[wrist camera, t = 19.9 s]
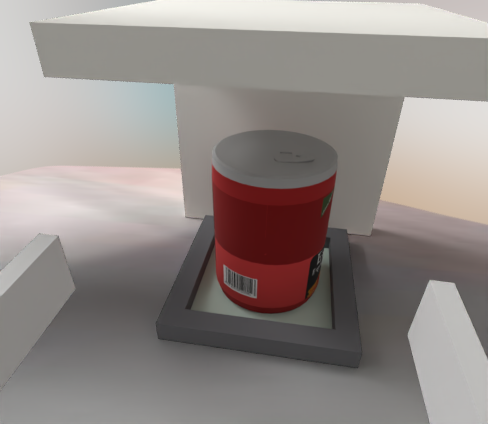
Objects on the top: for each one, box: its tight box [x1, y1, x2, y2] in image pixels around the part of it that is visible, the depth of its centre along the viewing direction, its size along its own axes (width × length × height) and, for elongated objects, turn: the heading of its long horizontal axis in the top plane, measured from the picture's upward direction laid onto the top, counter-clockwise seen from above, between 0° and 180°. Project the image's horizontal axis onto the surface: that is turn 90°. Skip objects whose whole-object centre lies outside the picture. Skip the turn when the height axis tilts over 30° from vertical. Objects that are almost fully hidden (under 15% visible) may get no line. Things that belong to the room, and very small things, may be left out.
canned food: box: [211, 130, 338, 314], centre depth 26 cm, size 8×8×11 cm
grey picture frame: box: [156, 215, 362, 368], centre depth 29 cm, size 13×13×2 cm
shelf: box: [30, 0, 488, 236], centre depth 25 cm, size 17×18×19 cm
